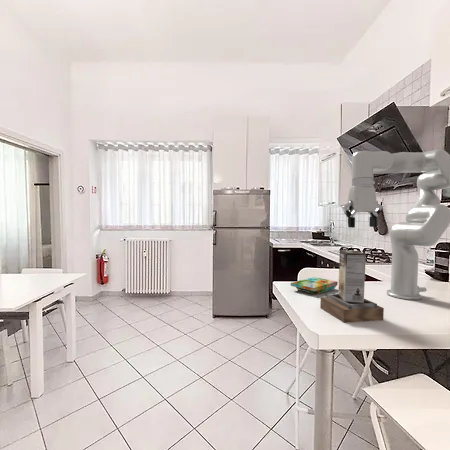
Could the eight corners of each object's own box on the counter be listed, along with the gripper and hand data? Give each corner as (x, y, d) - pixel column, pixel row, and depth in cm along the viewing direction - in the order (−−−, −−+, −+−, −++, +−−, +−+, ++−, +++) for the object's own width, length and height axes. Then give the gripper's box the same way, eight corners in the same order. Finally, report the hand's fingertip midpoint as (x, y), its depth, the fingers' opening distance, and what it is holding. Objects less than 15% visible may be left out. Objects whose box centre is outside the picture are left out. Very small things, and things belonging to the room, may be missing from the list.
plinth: (355, 306, 102) (355, 292, 102) (383, 320, 89) (383, 304, 88) (320, 308, 100) (320, 293, 100) (343, 322, 86) (344, 305, 86)
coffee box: (337, 294, 99) (338, 249, 99) (356, 295, 98) (357, 250, 98) (344, 301, 90) (345, 252, 90) (365, 303, 89) (366, 253, 89)
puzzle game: (337, 279, 128) (314, 286, 115) (337, 289, 128) (313, 297, 115) (315, 275, 137) (290, 280, 124) (314, 285, 137) (290, 291, 124)
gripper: (374, 184, 114) (374, 226, 115) (336, 184, 110) (337, 227, 111) (388, 182, 107) (388, 227, 107) (349, 182, 103) (349, 228, 104)
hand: (362, 227), depth 109 cm, fingers open, 9 cm apart
